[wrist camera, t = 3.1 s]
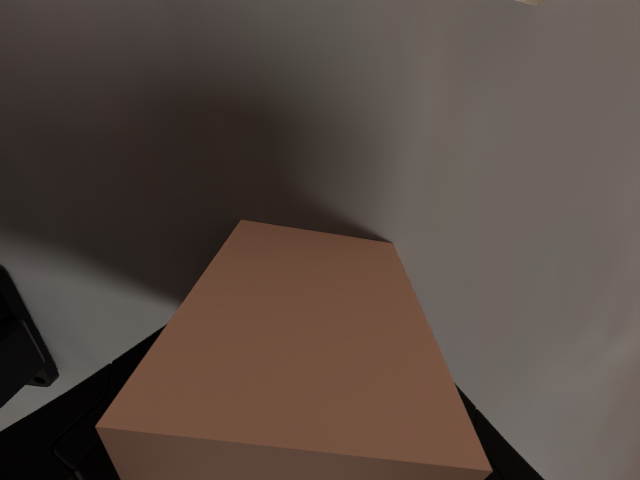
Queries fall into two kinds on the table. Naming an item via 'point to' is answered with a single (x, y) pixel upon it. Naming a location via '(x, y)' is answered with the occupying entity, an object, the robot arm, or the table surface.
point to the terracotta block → (294, 373)
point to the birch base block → (531, 1)
